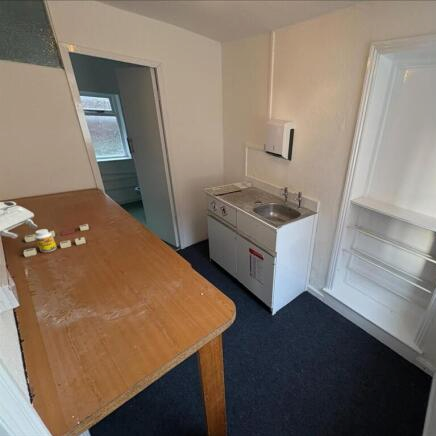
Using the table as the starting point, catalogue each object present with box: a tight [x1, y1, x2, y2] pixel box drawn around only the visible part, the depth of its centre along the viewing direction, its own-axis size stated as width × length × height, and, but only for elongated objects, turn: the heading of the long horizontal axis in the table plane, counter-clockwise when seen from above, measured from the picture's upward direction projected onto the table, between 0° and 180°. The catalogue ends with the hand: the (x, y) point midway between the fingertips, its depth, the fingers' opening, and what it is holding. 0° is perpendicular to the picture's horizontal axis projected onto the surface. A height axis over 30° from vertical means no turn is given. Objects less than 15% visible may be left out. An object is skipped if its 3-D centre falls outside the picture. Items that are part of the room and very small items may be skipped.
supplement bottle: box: [34, 228, 58, 253], centre depth 109 cm, size 6×6×10 cm
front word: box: [23, 236, 87, 258], centre depth 112 cm, size 21×4×2 cm, turn 132°
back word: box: [24, 223, 90, 243], centre depth 124 cm, size 25×5×2 cm, turn 132°
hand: (26, 232), depth 105 cm, fingers open, 8 cm apart
